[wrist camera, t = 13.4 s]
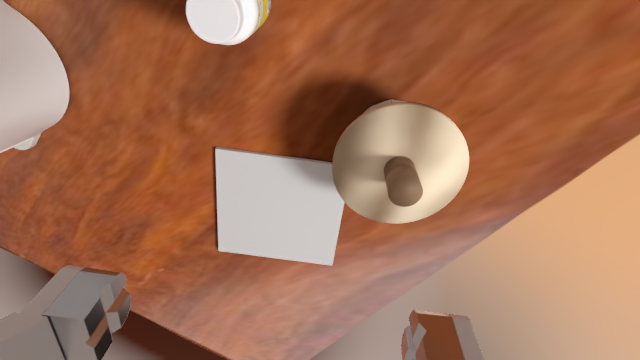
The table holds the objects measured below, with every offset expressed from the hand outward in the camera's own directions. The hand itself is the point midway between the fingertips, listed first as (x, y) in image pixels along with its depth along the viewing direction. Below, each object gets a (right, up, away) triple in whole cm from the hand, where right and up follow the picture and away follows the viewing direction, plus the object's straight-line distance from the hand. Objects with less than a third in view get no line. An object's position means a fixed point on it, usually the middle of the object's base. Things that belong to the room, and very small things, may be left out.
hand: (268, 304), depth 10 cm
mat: (-4, 0, +37) cm, 37 cm away
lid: (+9, +5, +26) cm, 28 cm away
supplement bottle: (-6, +21, +25) cm, 33 cm away
